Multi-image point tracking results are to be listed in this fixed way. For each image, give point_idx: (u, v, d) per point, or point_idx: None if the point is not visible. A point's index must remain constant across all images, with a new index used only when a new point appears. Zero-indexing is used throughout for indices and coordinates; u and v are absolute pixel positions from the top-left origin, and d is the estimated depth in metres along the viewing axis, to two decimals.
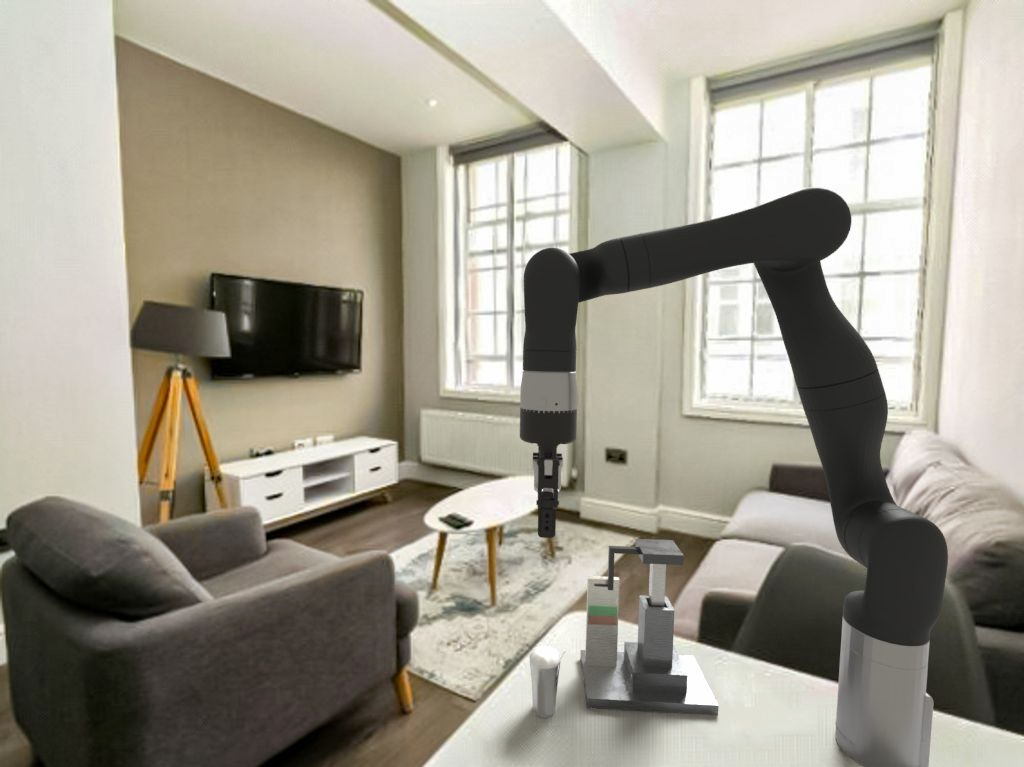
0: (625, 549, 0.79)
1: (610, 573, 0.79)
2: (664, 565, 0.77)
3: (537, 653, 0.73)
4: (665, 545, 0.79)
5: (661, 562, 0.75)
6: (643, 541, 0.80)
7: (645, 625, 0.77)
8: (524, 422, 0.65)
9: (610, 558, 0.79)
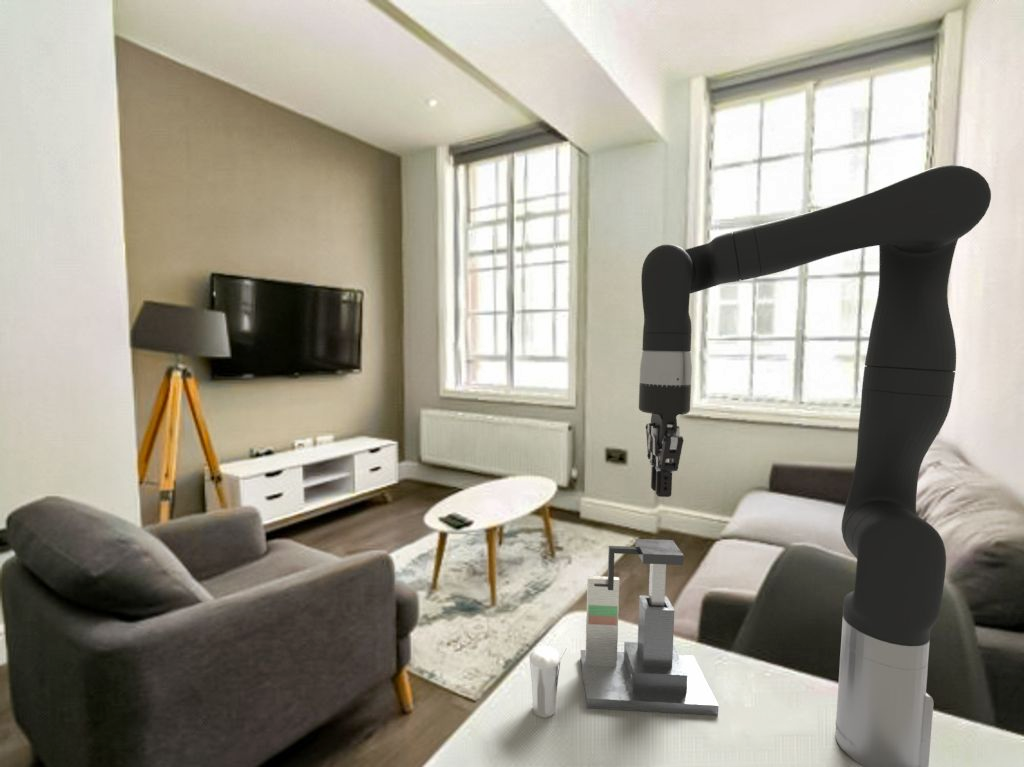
0: (625, 549, 0.79)
1: (610, 573, 0.79)
2: (664, 565, 0.77)
3: (537, 653, 0.73)
4: (665, 545, 0.79)
5: (661, 562, 0.75)
6: (643, 541, 0.80)
7: (645, 625, 0.77)
8: (647, 395, 0.75)
9: (610, 558, 0.79)
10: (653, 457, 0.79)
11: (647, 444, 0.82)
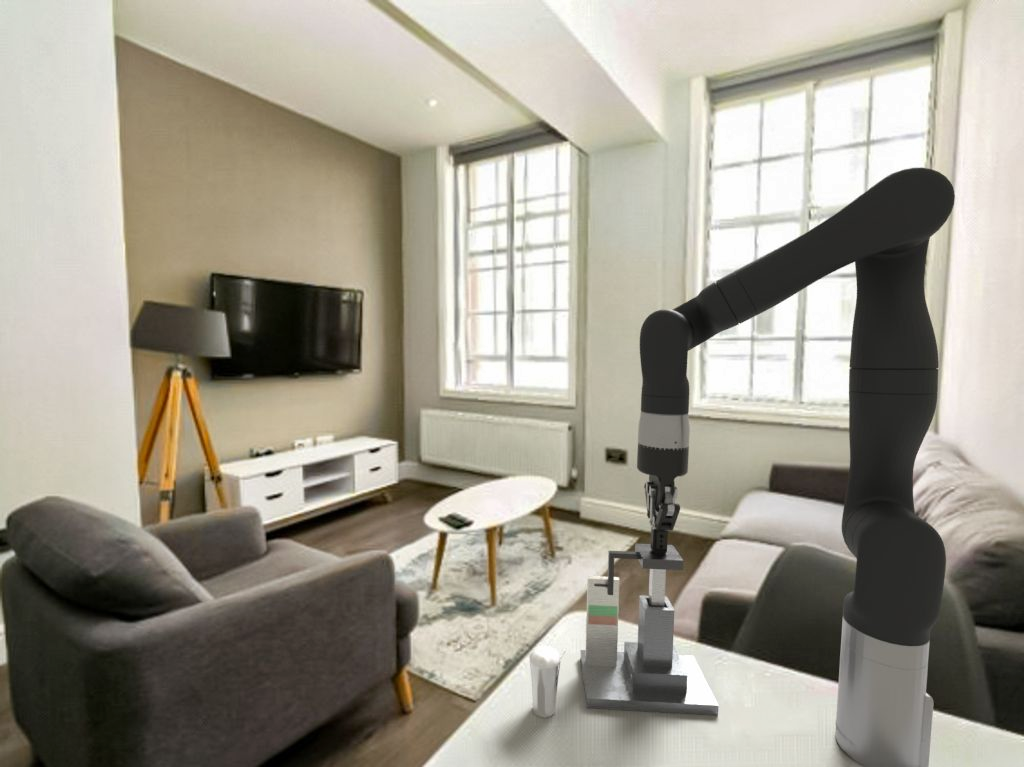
0: (625, 554, 0.79)
1: (610, 578, 0.79)
2: (664, 570, 0.77)
3: (537, 653, 0.73)
4: None
5: (661, 567, 0.75)
6: (643, 546, 0.80)
7: (645, 625, 0.77)
8: (645, 457, 0.75)
9: (610, 563, 0.79)
10: (653, 518, 0.78)
11: (646, 503, 0.82)
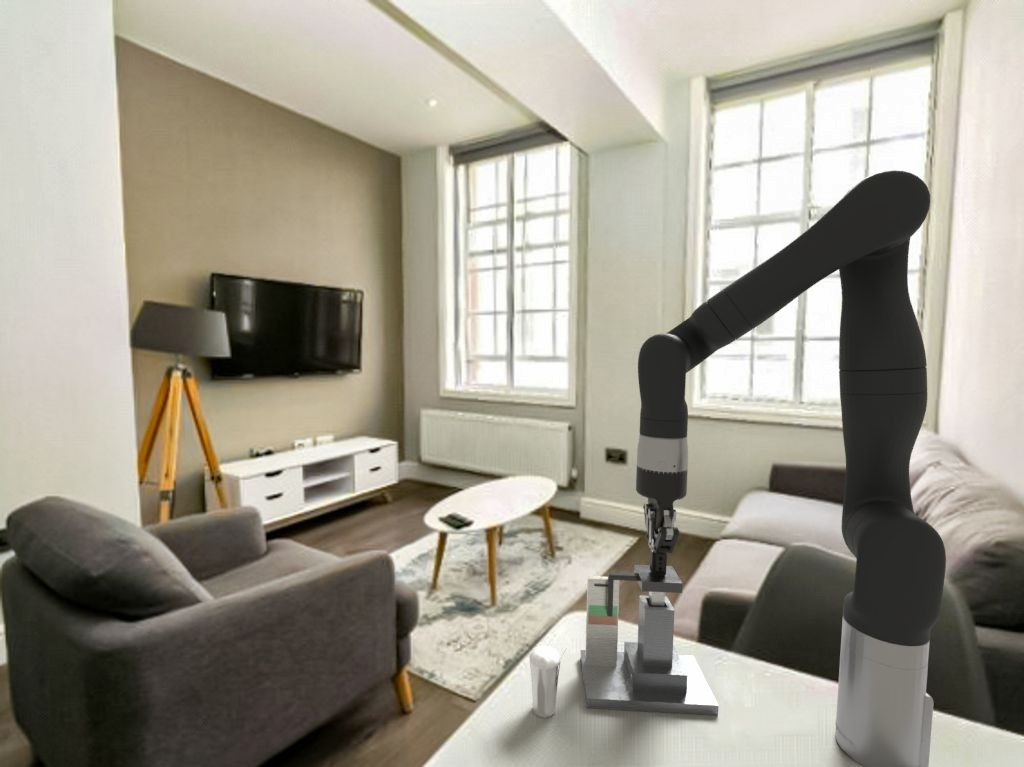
0: (624, 576, 0.79)
1: (609, 599, 0.80)
2: (663, 592, 0.78)
3: (537, 653, 0.73)
4: None
5: (660, 590, 0.76)
6: (642, 567, 0.81)
7: (645, 625, 0.77)
8: (644, 480, 0.75)
9: (609, 584, 0.79)
10: (652, 540, 0.78)
11: None
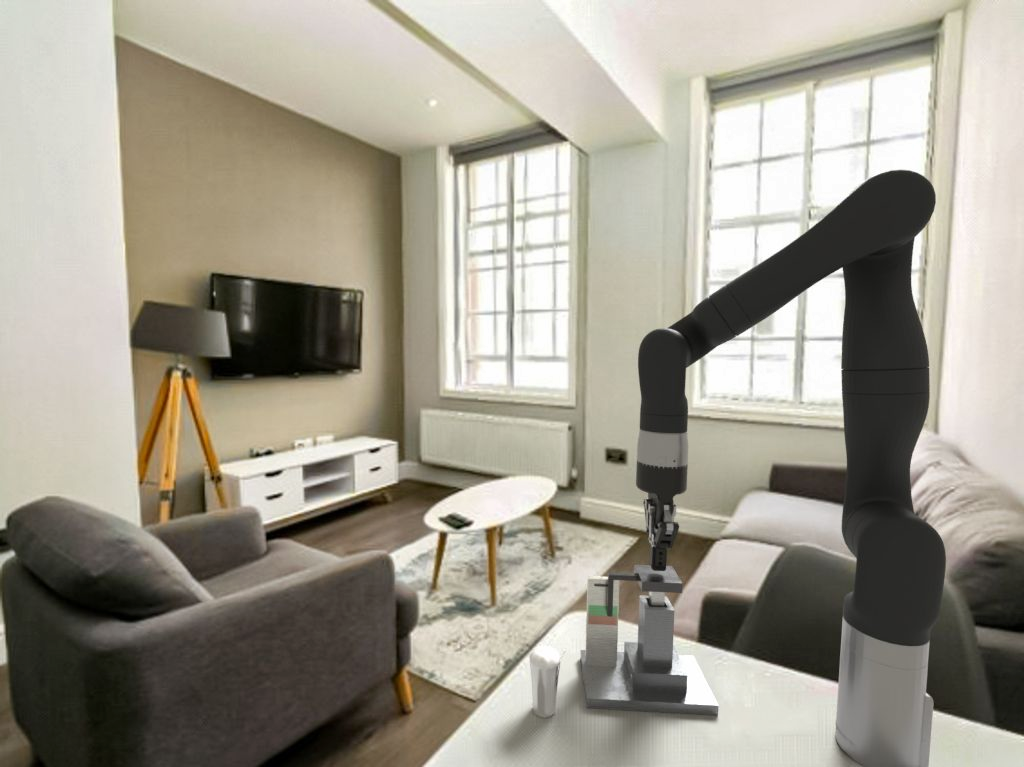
0: (624, 576, 0.79)
1: (609, 599, 0.80)
2: (663, 592, 0.78)
3: (537, 653, 0.73)
4: (664, 571, 0.79)
5: (660, 590, 0.76)
6: (642, 567, 0.81)
7: (645, 625, 0.77)
8: (644, 475, 0.75)
9: (609, 585, 0.79)
10: (652, 535, 0.78)
11: None
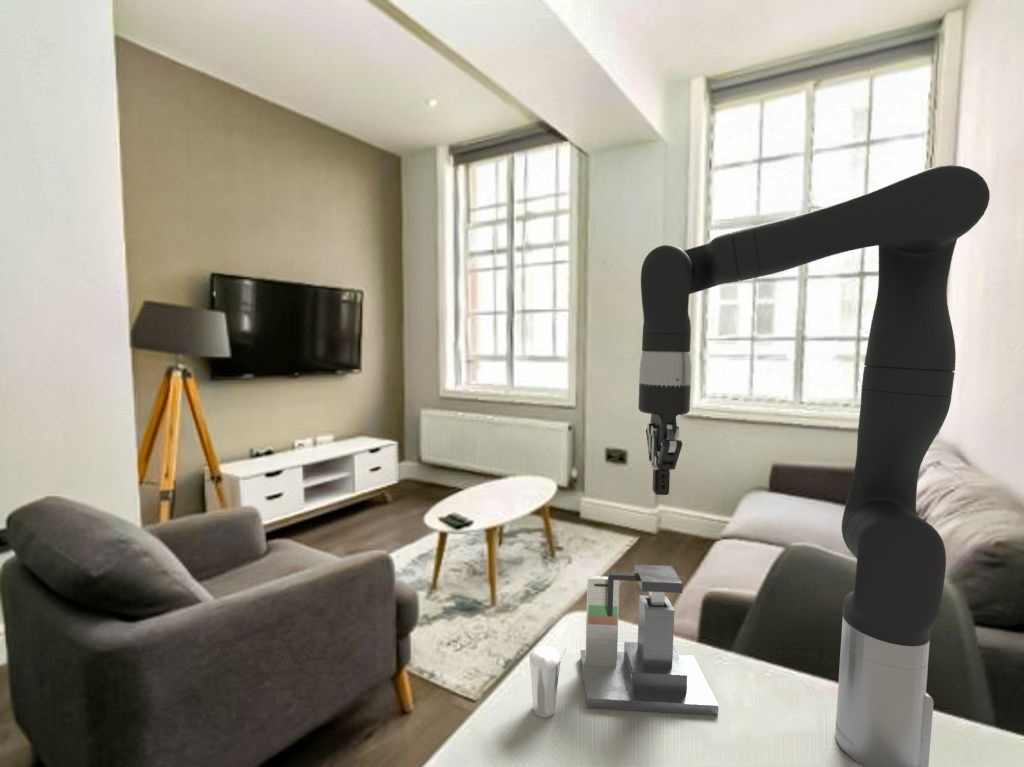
0: (624, 576, 0.79)
1: (609, 599, 0.80)
2: (663, 592, 0.78)
3: (537, 653, 0.73)
4: (664, 571, 0.79)
5: (660, 590, 0.76)
6: (642, 567, 0.81)
7: (645, 625, 0.77)
8: (646, 395, 0.75)
9: (609, 585, 0.79)
10: None
11: (648, 447, 0.81)
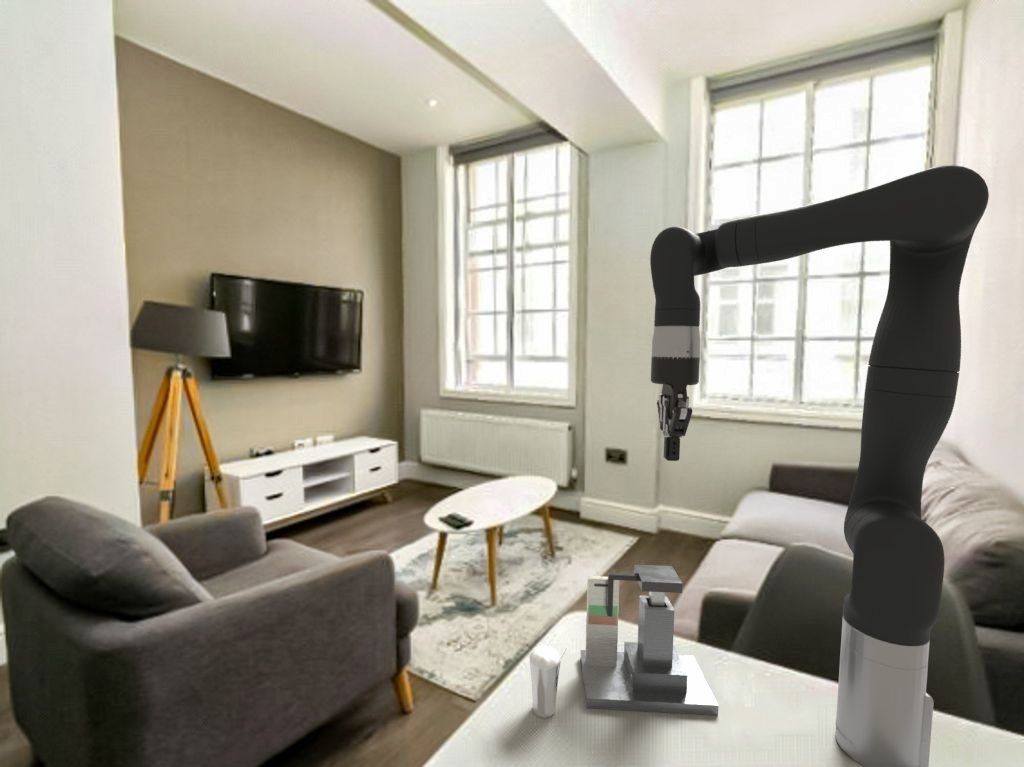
0: (624, 576, 0.79)
1: (609, 599, 0.80)
2: (663, 592, 0.78)
3: (537, 653, 0.73)
4: (664, 571, 0.79)
5: (660, 590, 0.76)
6: (642, 567, 0.81)
7: (645, 625, 0.77)
8: (659, 367, 0.80)
9: (609, 585, 0.79)
10: (666, 428, 0.83)
11: (659, 418, 0.87)
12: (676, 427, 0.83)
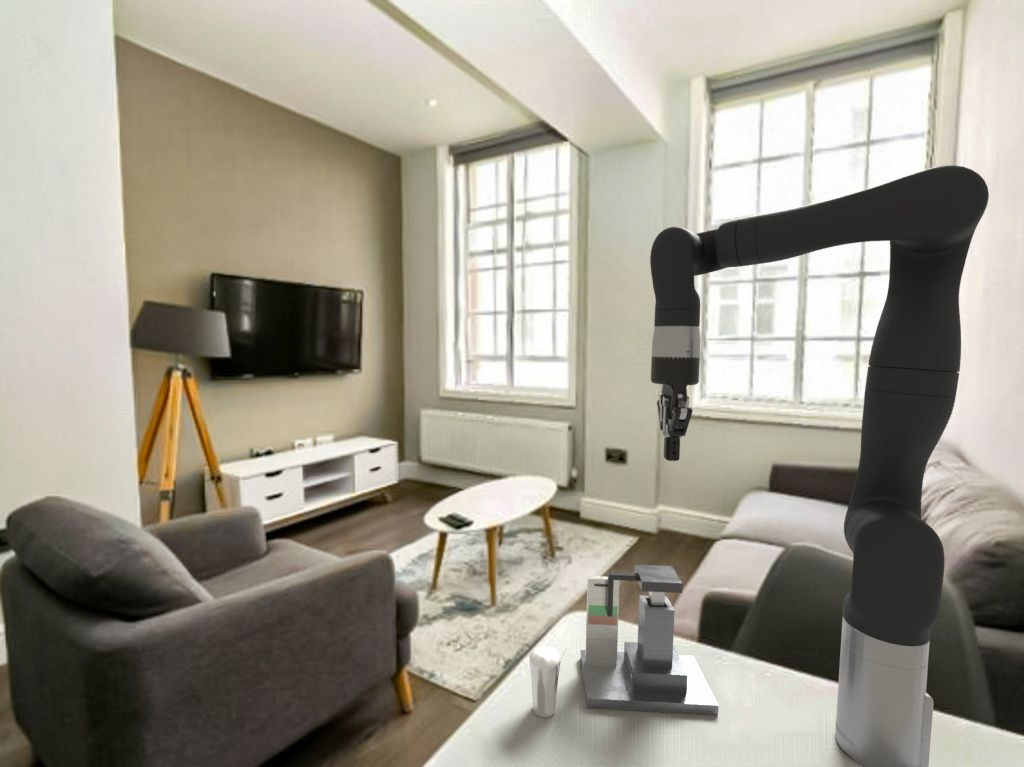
0: (624, 576, 0.79)
1: (609, 599, 0.80)
2: (663, 592, 0.78)
3: (537, 653, 0.73)
4: (664, 571, 0.79)
5: (660, 590, 0.76)
6: (642, 567, 0.81)
7: (645, 625, 0.77)
8: (659, 367, 0.80)
9: (609, 585, 0.79)
10: (666, 428, 0.83)
11: (659, 418, 0.87)
12: (676, 427, 0.83)
